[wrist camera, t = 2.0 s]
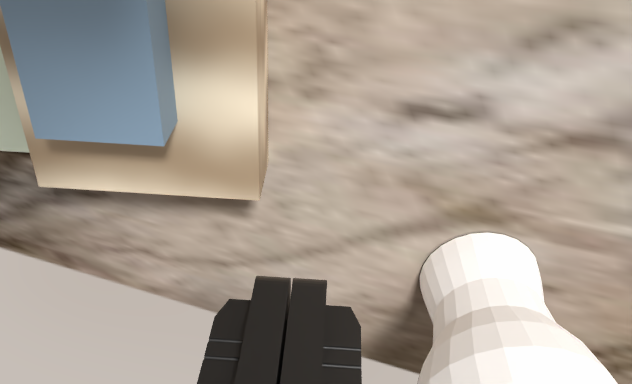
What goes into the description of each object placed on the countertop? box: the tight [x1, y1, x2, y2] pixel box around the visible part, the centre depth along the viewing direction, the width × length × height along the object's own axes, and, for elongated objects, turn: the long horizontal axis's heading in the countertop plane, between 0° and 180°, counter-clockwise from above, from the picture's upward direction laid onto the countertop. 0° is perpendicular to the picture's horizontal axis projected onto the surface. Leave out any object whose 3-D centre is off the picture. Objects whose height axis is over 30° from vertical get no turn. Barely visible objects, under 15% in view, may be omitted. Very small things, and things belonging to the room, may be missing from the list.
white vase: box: [417, 233, 617, 384], centre depth 33 cm, size 11×11×15 cm
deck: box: [0, 0, 268, 201], centre depth 28 cm, size 18×12×4 cm, turn 178°
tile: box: [0, 0, 178, 146], centre depth 25 cm, size 9×6×2 cm, turn 178°
